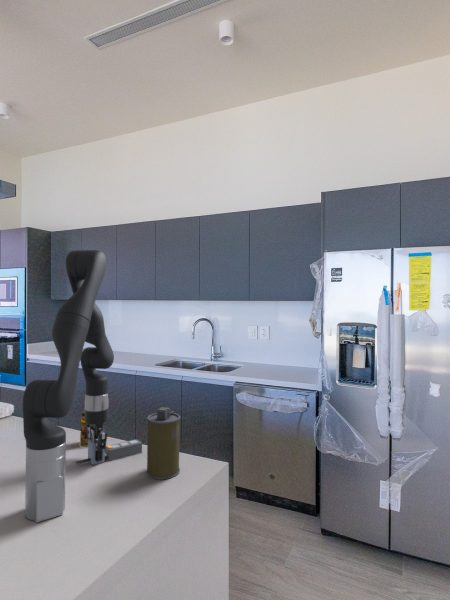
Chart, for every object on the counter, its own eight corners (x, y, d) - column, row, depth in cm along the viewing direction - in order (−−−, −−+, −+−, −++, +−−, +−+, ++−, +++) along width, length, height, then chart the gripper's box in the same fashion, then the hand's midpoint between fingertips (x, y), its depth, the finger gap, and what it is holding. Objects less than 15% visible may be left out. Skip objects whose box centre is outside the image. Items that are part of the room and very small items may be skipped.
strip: (141, 452, 135) (142, 441, 135) (108, 461, 128) (108, 449, 128) (136, 448, 138) (136, 437, 138) (103, 456, 131) (104, 445, 131)
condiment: (80, 448, 138) (81, 415, 138) (76, 441, 145) (77, 409, 145) (101, 445, 142) (101, 412, 142) (96, 437, 149) (96, 407, 149)
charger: (107, 460, 127) (108, 439, 127) (78, 468, 121) (78, 446, 122) (103, 456, 131) (103, 435, 131) (74, 463, 125) (74, 442, 125)
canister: (170, 482, 113) (171, 414, 113) (139, 476, 117) (140, 411, 117) (185, 467, 124) (186, 405, 124) (157, 462, 127) (158, 402, 127)
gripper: (115, 410, 124) (115, 462, 124) (100, 400, 135) (99, 449, 135) (92, 414, 119) (91, 468, 119) (78, 404, 131) (77, 454, 131)
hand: (96, 458), depth 127 cm, fingers closed on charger, 4 cm apart
